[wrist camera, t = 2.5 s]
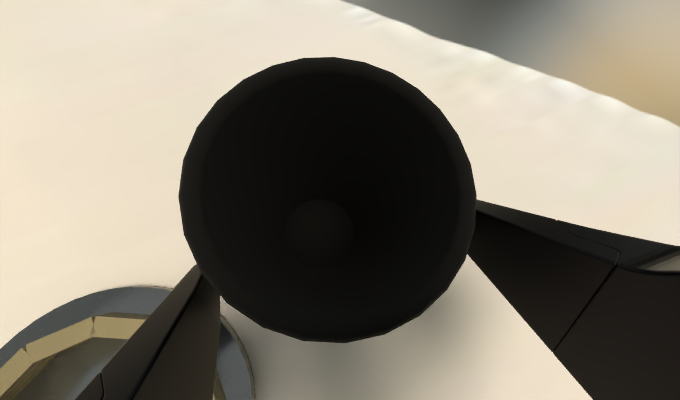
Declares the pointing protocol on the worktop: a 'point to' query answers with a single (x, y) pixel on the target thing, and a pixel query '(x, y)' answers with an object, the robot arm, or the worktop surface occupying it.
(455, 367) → the worktop surface
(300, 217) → the cup
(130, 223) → the worktop surface
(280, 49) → the worktop surface
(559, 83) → the worktop surface
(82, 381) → the flange plate
